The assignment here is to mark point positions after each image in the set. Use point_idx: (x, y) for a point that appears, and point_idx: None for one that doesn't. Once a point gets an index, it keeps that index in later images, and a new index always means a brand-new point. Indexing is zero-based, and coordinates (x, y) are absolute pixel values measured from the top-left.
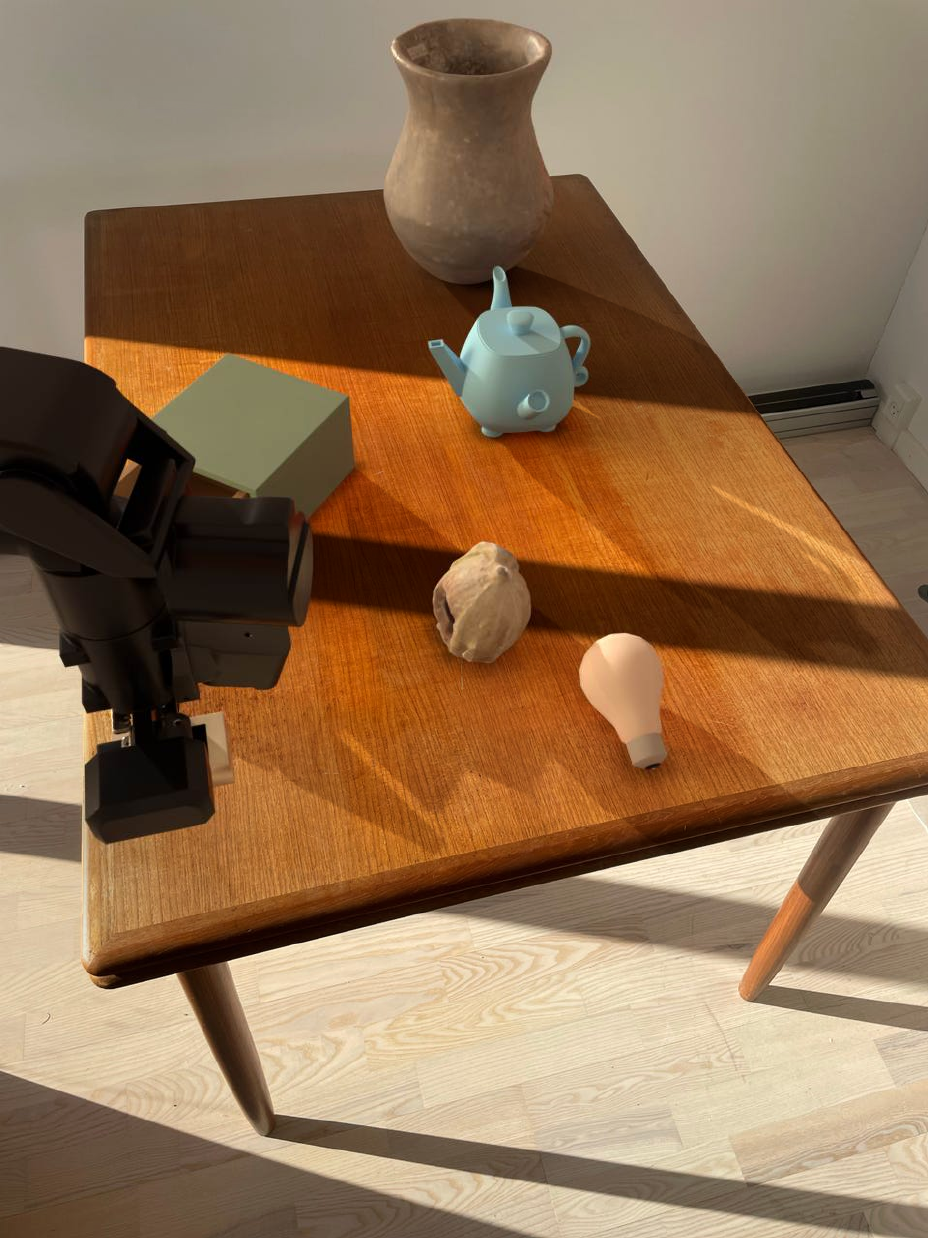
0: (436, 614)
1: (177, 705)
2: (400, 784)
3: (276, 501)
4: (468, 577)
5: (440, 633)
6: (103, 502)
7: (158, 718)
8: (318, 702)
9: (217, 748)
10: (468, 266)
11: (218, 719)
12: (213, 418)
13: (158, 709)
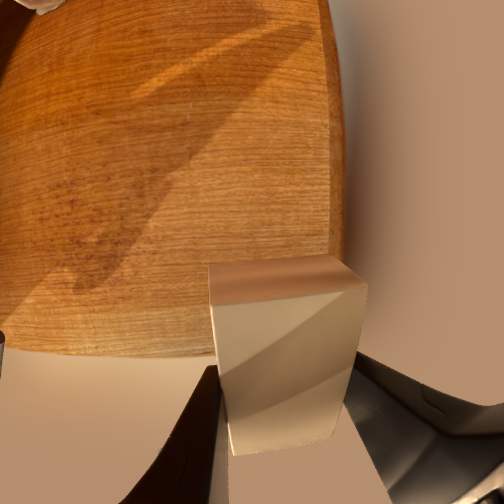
0: (33, 3)
1: (218, 421)
2: (224, 40)
3: None
4: None
5: (49, 10)
6: None
7: (225, 424)
8: (87, 125)
9: (326, 312)
10: None
11: (237, 314)
12: None
13: (223, 443)
